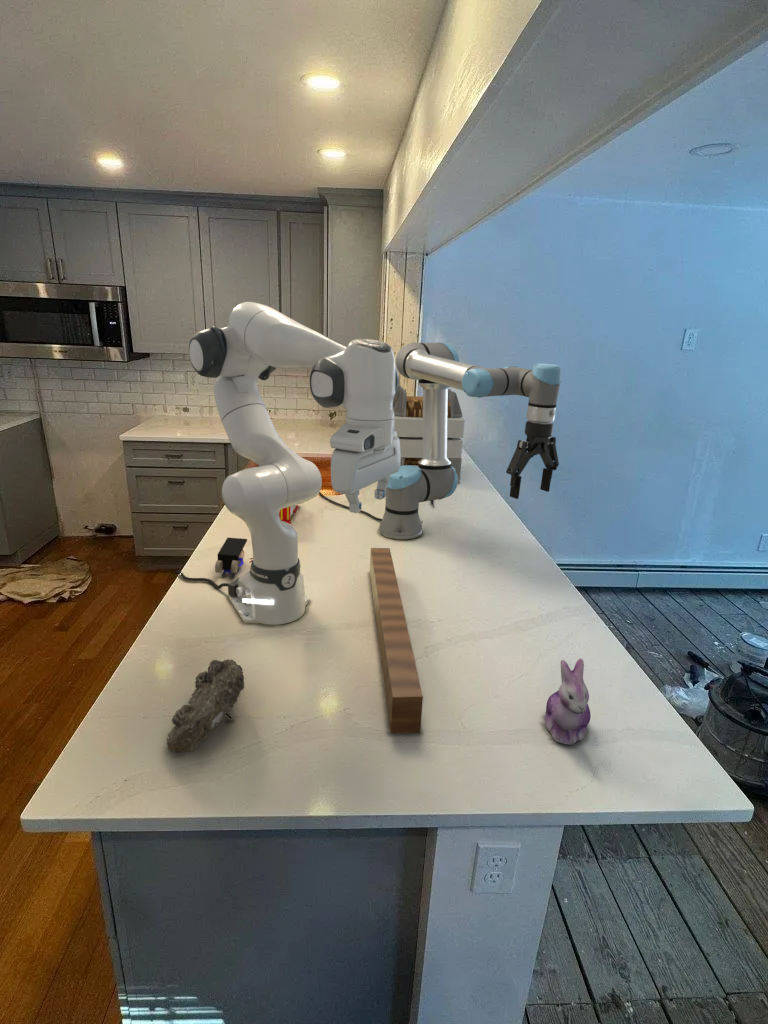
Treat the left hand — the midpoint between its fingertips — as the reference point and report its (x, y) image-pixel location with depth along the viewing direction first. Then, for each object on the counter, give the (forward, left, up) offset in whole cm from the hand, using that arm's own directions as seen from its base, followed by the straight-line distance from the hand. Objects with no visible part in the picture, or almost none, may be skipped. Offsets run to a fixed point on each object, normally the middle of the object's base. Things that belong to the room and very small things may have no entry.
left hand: (368, 504), depth 108 cm
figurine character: (-64, +2, -40) cm, 75 cm away
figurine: (+36, +21, -40) cm, 58 cm away
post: (-10, +16, -40) cm, 44 cm away
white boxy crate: (-110, +123, -40) cm, 170 cm away
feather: (-80, +102, -40) cm, 135 cm away
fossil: (-8, -30, -40) cm, 50 cm away
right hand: (-12, +71, -14) cm, 73 cm away
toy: (-95, +38, -40) cm, 109 cm away
